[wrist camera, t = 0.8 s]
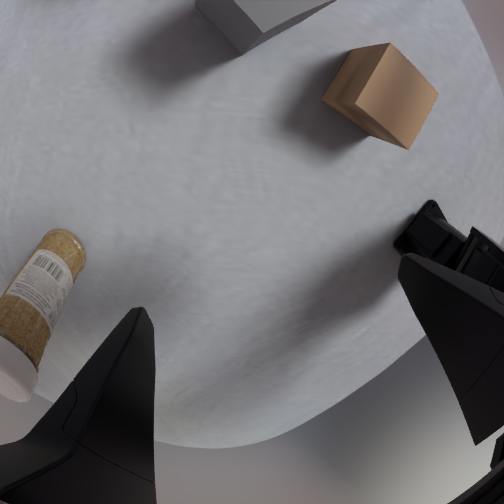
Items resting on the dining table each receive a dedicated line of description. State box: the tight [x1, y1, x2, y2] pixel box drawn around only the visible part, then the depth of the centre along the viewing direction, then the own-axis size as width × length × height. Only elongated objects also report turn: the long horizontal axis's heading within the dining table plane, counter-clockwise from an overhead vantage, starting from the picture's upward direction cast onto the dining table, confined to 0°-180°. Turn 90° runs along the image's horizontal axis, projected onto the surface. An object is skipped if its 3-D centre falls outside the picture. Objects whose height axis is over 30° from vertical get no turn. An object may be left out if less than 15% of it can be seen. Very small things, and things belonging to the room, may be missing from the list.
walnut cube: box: [321, 43, 439, 150], centre depth 15 cm, size 5×5×5 cm
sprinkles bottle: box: [0, 229, 86, 403], centre depth 14 cm, size 5×5×14 cm
